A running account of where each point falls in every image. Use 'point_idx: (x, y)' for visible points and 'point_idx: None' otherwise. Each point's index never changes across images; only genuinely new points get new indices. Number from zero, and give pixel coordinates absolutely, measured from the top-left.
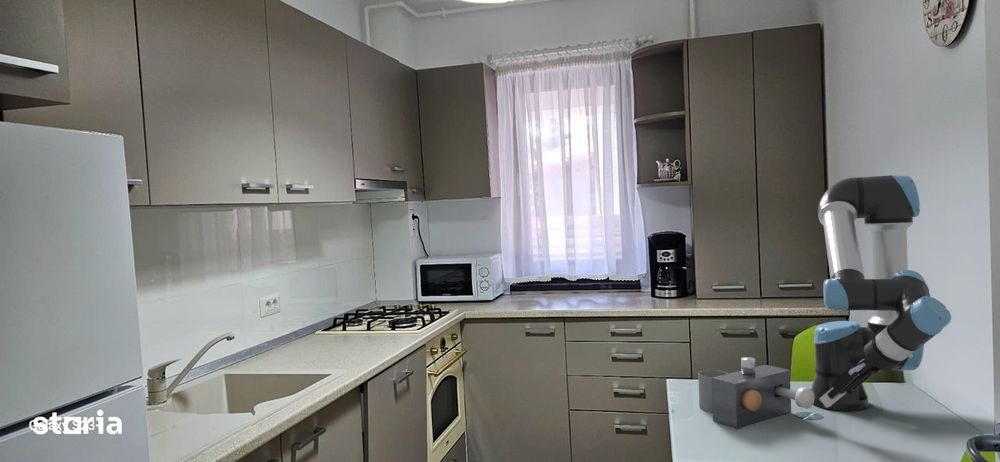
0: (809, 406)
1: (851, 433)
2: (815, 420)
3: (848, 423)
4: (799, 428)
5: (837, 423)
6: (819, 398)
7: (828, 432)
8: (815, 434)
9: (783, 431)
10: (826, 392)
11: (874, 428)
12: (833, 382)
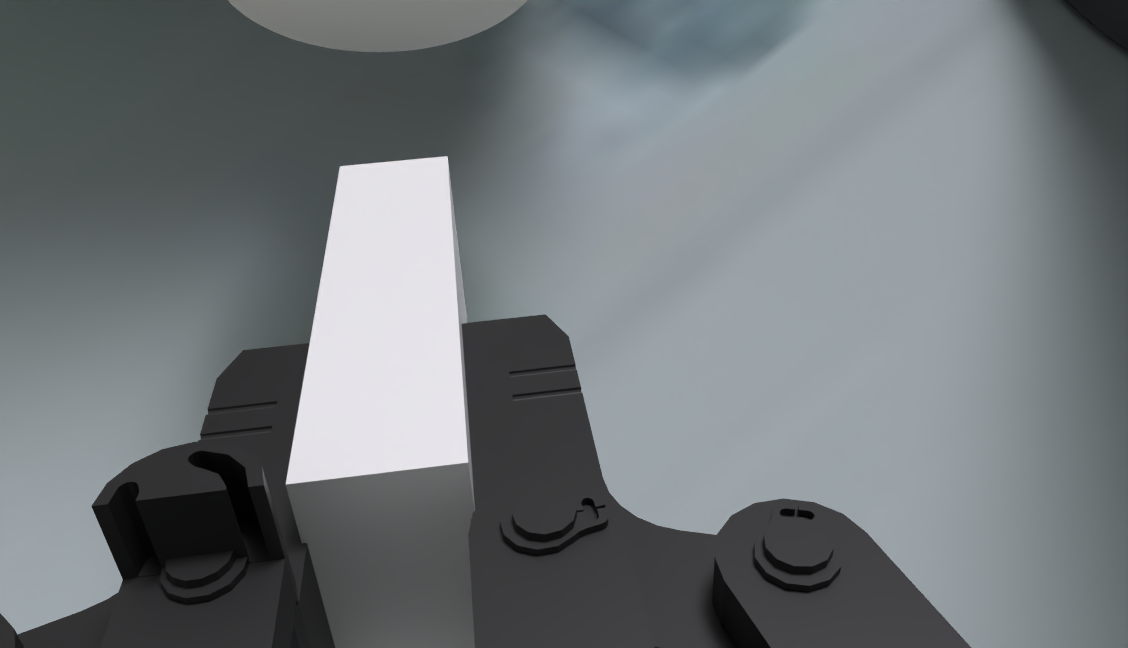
0: (418, 37)
1: None
2: (609, 79)
3: (841, 324)
4: (243, 165)
5: (736, 263)
6: (340, 172)
7: None
8: None
9: (12, 144)
10: (323, 272)
11: (961, 587)
12: (138, 505)
